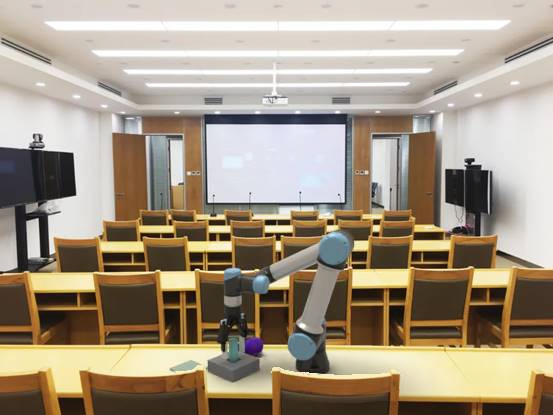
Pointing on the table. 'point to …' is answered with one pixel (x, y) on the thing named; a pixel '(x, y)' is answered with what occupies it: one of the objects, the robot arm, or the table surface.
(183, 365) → the mat
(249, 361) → the socket
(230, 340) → the plug
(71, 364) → the table surface
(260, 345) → the toy
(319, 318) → the robot arm
